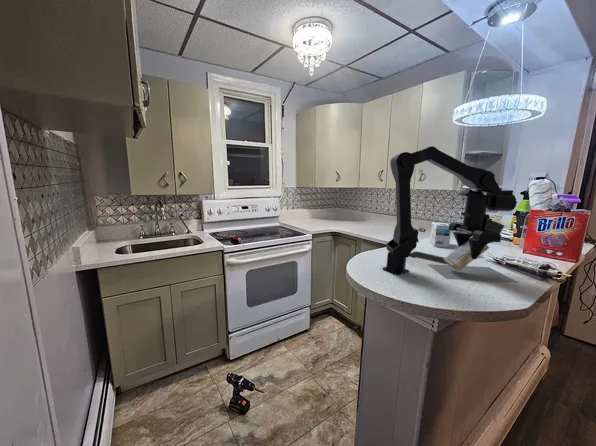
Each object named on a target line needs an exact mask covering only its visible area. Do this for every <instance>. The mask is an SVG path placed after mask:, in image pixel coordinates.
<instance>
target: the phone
mask: <svg viewBox="0 0 596 446" xmlns="http://www.w3.org/2000/svg"><path fill="white" fill-rule="evenodd" d="M409 257H410V258H414V259H416V258H419V259H422V260H427V261H430V262H434V263H435V262H436V263H439V264H442V265H448V264H447V263H446V262H445V261H444V260H443V259H444V258H445V257H443V256H439V255H435V254H430V253H425V252H420V251H413V252H411V253H410V255H409ZM409 257H408V258H409Z"/></svg>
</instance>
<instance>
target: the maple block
mask: <svg viewBox="0 0 596 446" xmlns="http://www.w3.org/2000/svg"><path fill="white" fill-rule="evenodd" d="M471 238H472V239H473V237H471ZM489 249H490V247H489V246H488V244H487V245H485V247H484V248H483V249H482V251H481V252H480V254H479V255H483V253H484V252H486V251H488V250H489ZM454 250H455V251H453V252H452V253H451V252H450V253H449V254H448V255H447V256H446V257H444V259H443V260H444V261H445V262H446V263H447V264H446V265H449V266H450V267H452V268H453V269H455V270H457V271H460V270H461V269H462V268H464V267H465V266H469V264H470V263H472V262H473V261H474V260H475V259H472V256H471V250H470V244H469V240H468V241H466V242H465V243H464V244H462V245H461V246H460V247H459V248H458V247H457V248H456V249H454Z"/></svg>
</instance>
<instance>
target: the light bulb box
mask: <svg viewBox="0 0 596 446" xmlns="http://www.w3.org/2000/svg"><path fill="white" fill-rule="evenodd" d="M448 228H449V224H448V223H446V222H436V221H432V222H431V229H430V234H429V235H430V236H429V243H430V244H431V245H432V246H433V247H435V248H444V249H445V248H446V249H449V248H450V244H451V236H452V234H451V233H452V231H451V230H448Z"/></svg>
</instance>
